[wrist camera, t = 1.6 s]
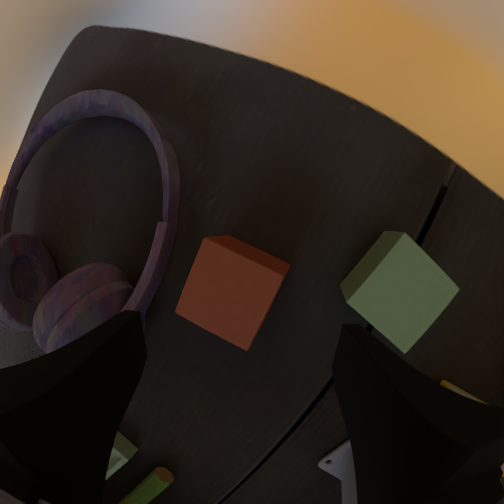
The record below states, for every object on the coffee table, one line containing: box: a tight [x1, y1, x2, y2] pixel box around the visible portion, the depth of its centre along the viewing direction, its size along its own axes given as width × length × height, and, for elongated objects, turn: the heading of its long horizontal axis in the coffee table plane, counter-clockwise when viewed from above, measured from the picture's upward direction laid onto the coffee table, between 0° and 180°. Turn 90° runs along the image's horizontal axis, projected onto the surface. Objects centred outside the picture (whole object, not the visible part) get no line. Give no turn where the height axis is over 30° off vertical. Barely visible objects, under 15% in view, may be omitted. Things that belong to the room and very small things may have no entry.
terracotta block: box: [175, 235, 291, 350], centre depth 18 cm, size 4×4×4 cm
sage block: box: [340, 231, 459, 354], centre depth 16 cm, size 4×4×4 cm
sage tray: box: [105, 431, 138, 480], centre depth 24 cm, size 14×11×2 cm
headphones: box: [0, 89, 180, 354], centre depth 19 cm, size 18×8×20 cm
